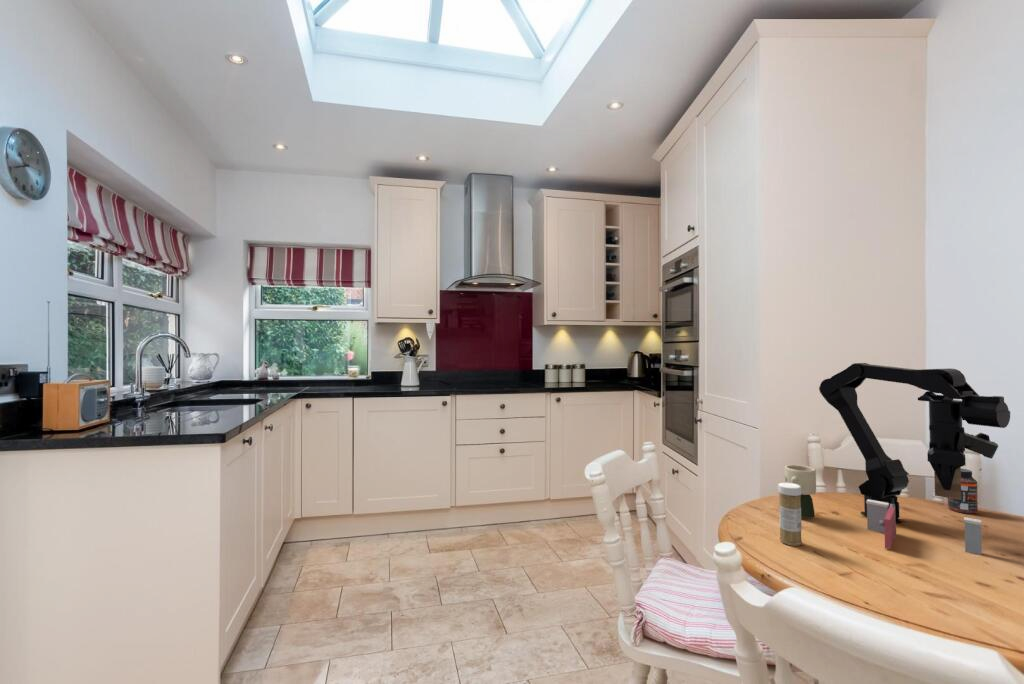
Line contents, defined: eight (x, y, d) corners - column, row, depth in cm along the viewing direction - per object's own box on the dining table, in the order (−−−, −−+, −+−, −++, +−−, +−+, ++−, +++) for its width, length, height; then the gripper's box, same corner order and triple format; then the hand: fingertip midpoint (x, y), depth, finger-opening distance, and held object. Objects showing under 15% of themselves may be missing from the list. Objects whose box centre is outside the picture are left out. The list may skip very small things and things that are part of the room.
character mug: (794, 508, 130) (793, 462, 131) (823, 515, 125) (822, 467, 125) (778, 517, 123) (777, 468, 124) (808, 525, 118) (807, 474, 118)
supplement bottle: (972, 516, 123) (971, 473, 123) (943, 509, 128) (942, 468, 129) (981, 512, 126) (980, 470, 126) (953, 505, 131) (952, 465, 131)
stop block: (961, 499, 106) (960, 469, 106) (934, 495, 109) (934, 465, 109) (961, 495, 109) (960, 465, 109) (935, 491, 112) (934, 462, 112)
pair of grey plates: (866, 529, 115) (866, 500, 115) (868, 527, 116) (867, 498, 116) (982, 555, 100) (981, 522, 100) (982, 552, 101) (981, 519, 101)
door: (884, 532, 112) (884, 505, 112) (895, 534, 111) (894, 507, 111) (879, 546, 104) (878, 517, 104) (890, 549, 103) (890, 520, 103)
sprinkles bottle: (789, 537, 110) (787, 481, 111) (807, 545, 106) (805, 486, 106) (774, 540, 109) (773, 483, 109) (792, 548, 104) (791, 488, 105)
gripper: (997, 430, 97) (999, 505, 97) (991, 420, 111) (993, 485, 110) (926, 425, 105) (928, 494, 104) (929, 415, 118) (930, 477, 118)
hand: (947, 487), depth 109 cm, fingers closed on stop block, 4 cm apart
